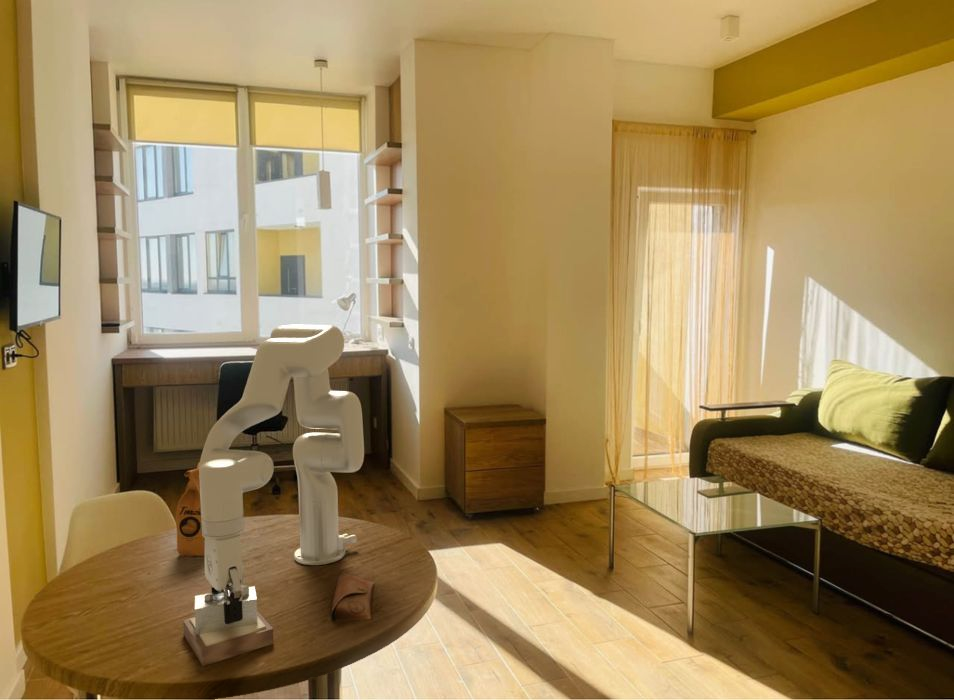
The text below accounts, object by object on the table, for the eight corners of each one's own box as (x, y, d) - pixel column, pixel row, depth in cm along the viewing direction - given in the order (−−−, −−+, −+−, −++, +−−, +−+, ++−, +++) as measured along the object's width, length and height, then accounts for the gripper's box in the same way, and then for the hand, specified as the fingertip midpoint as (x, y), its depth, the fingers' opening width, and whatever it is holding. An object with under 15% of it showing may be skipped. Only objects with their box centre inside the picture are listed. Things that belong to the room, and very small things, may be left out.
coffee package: (170, 557, 174) (165, 472, 172) (191, 539, 186) (187, 460, 184) (209, 557, 173) (205, 472, 171) (228, 539, 186) (224, 460, 184)
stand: (249, 615, 143) (249, 599, 142) (273, 643, 131) (272, 626, 131) (183, 634, 135) (182, 618, 135) (202, 666, 124) (201, 648, 123)
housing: (196, 620, 134) (194, 589, 133) (255, 610, 138) (254, 580, 137) (195, 634, 128) (194, 602, 128) (257, 623, 132) (256, 592, 132)
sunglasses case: (373, 619, 141) (355, 593, 140) (344, 638, 140) (326, 612, 139) (375, 581, 158) (359, 558, 157) (349, 598, 158) (333, 575, 157)
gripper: (190, 516, 136) (195, 602, 138) (215, 543, 122) (220, 637, 124) (229, 509, 140) (233, 592, 142) (257, 533, 126) (261, 625, 128)
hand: (227, 612), depth 133 cm, fingers open, 7 cm apart
